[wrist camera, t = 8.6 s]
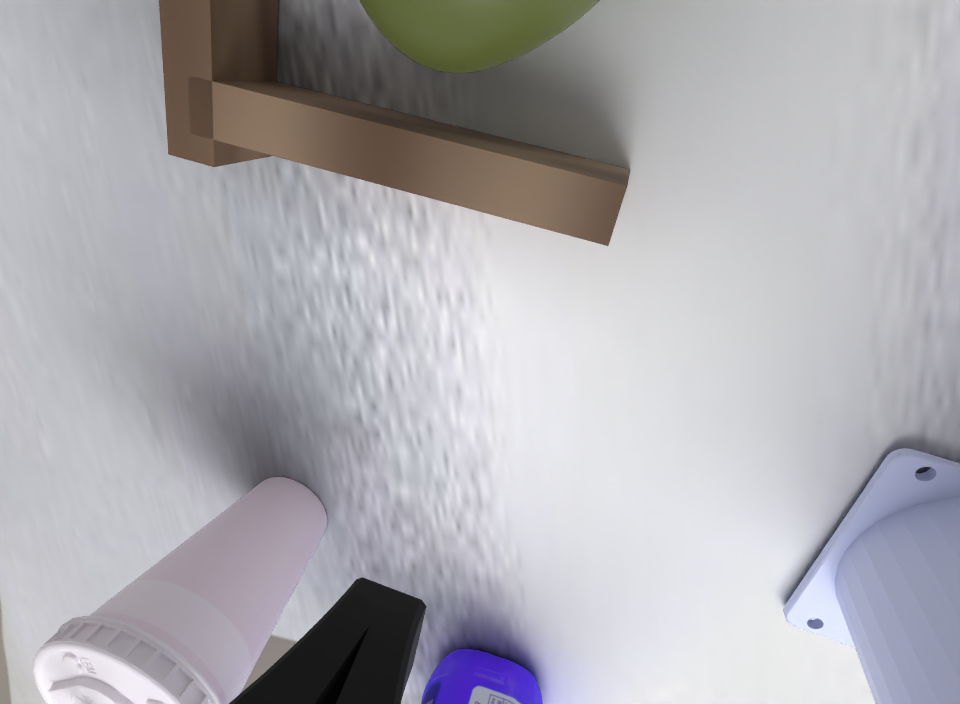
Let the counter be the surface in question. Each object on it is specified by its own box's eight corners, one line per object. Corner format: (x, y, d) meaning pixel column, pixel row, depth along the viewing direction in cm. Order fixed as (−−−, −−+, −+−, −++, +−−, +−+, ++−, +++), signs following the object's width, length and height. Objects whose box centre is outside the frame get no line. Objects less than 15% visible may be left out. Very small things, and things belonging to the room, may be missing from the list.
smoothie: (230, 431, 25) (-179, 771, 12) (364, 482, 24) (67, 900, 12) (227, 533, 28) (-105, 888, 15) (346, 582, 27) (95, 998, 15)
